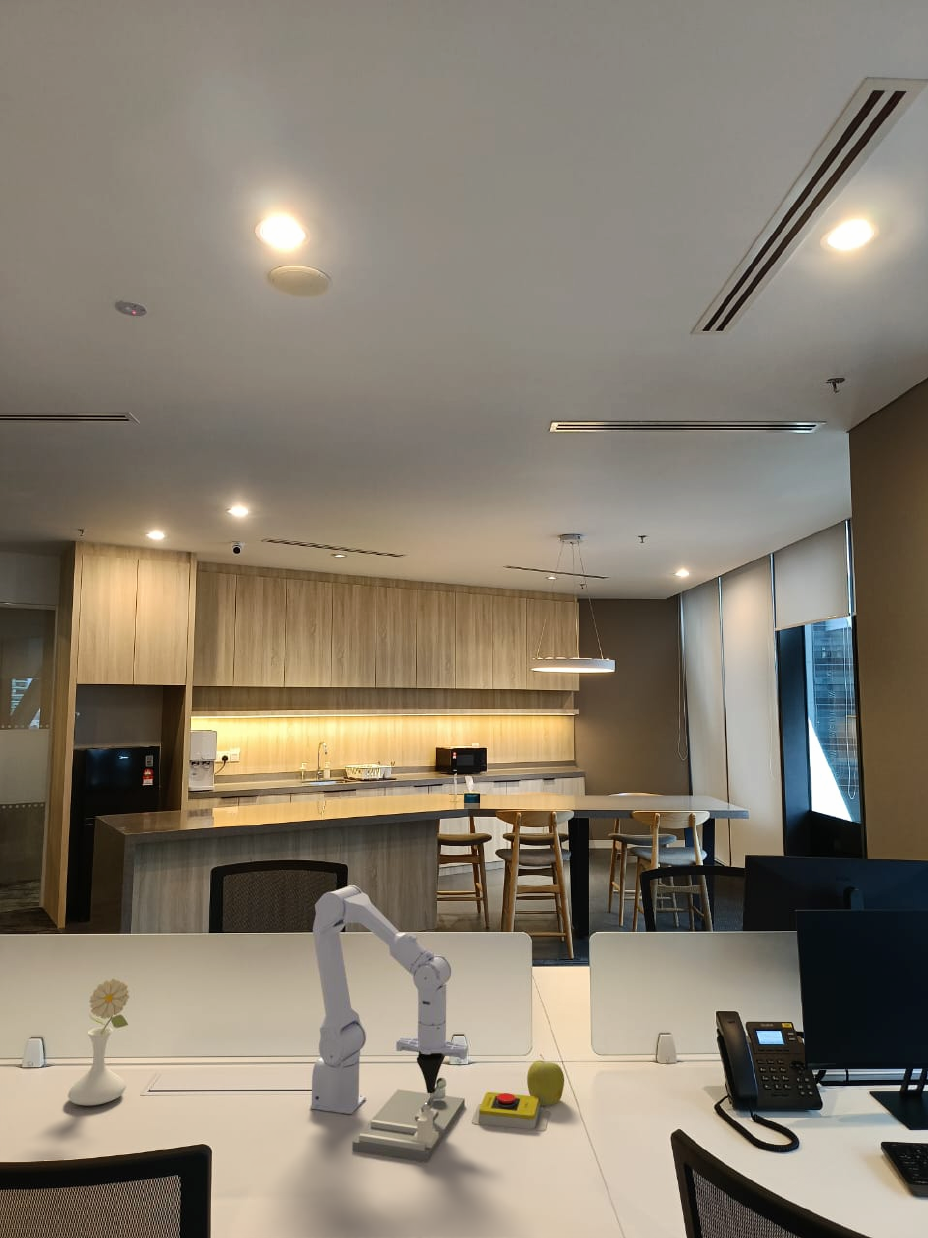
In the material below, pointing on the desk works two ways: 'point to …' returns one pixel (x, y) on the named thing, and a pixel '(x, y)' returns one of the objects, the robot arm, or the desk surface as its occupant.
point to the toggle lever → (434, 1094)
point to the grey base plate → (407, 1126)
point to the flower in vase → (102, 1047)
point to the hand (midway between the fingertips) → (431, 1091)
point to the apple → (545, 1082)
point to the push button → (440, 1093)
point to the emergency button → (511, 1112)
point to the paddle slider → (425, 1130)
